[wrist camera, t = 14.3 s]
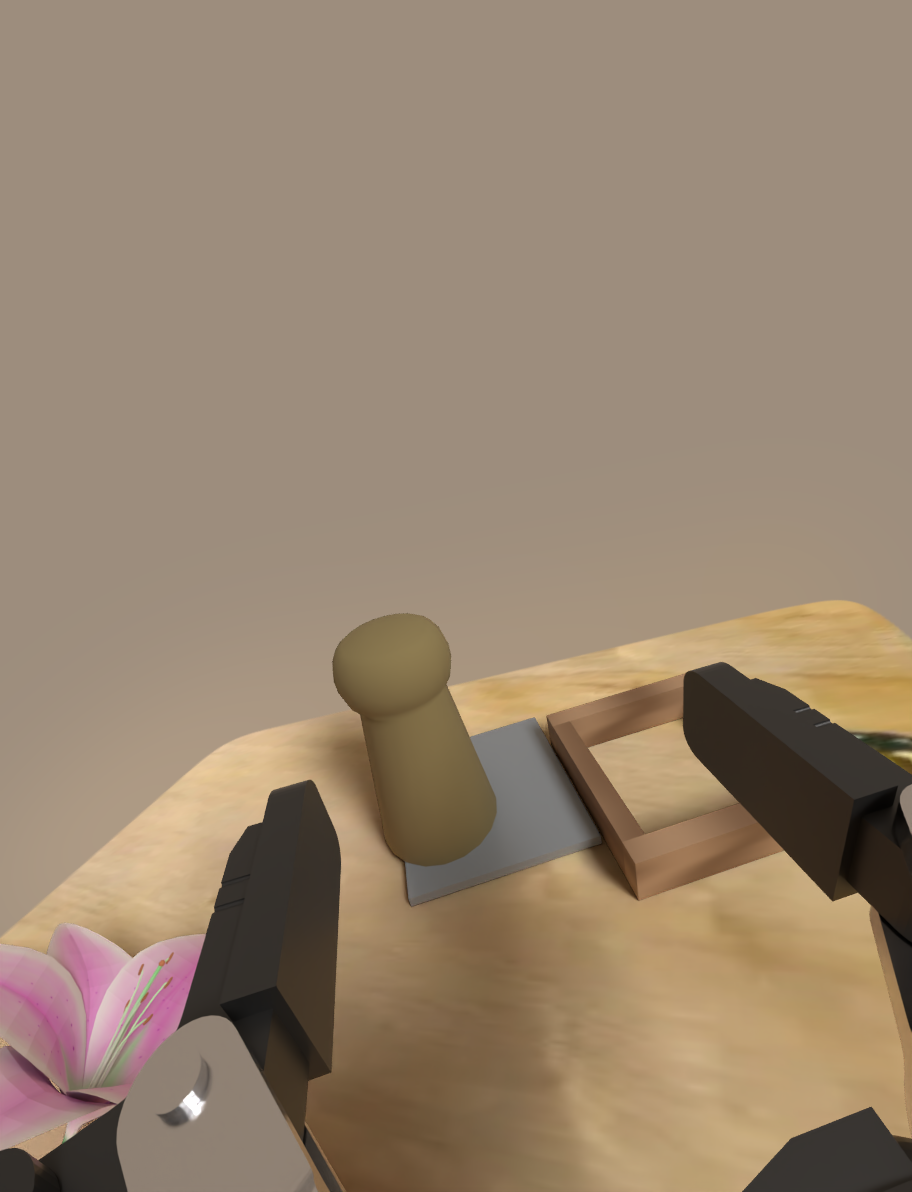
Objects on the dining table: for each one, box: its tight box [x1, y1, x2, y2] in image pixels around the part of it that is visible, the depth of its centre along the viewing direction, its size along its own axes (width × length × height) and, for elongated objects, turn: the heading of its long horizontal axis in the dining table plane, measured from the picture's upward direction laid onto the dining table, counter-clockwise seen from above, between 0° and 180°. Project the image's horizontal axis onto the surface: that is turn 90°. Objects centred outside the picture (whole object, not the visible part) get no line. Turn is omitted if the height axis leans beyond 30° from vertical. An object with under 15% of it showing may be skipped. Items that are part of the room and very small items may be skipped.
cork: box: [332, 613, 497, 867], centre depth 22 cm, size 6×6×11 cm
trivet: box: [405, 717, 602, 906], centre depth 25 cm, size 9×9×1 cm
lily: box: [0, 923, 206, 1151], centre depth 14 cm, size 12×12×10 cm
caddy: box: [547, 673, 784, 900], centre depth 23 cm, size 10×10×2 cm
